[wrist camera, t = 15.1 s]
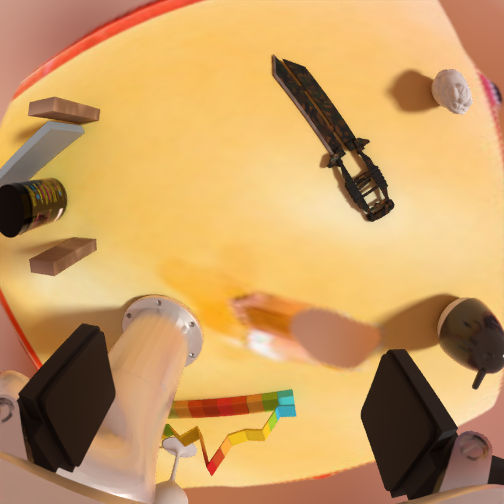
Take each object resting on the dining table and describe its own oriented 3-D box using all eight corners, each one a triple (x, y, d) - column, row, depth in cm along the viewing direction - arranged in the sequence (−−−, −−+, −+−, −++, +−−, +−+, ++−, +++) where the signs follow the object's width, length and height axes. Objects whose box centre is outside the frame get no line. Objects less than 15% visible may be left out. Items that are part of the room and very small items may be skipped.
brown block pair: (96, 249, 40) (54, 276, 29) (74, 247, 40) (31, 272, 29) (99, 109, 34) (54, 96, 24) (77, 112, 34) (29, 102, 24)
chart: (133, 412, 49) (108, 469, 35) (127, 400, 48) (99, 458, 34) (294, 401, 47) (303, 470, 33) (292, 388, 46) (301, 458, 32)
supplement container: (48, 168, 36) (2, 173, 26) (76, 193, 37) (31, 203, 27) (32, 205, 38) (-12, 217, 28) (58, 229, 39) (15, 248, 29)
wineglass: (181, 432, 50) (159, 521, 29) (205, 452, 51) (192, 537, 31) (154, 440, 51) (129, 522, 31) (179, 459, 53) (161, 538, 32)
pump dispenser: (417, 328, 43) (463, 383, 28) (456, 277, 40) (515, 319, 26) (446, 351, 44) (488, 402, 30) (481, 307, 42) (532, 348, 27)
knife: (263, 61, 33) (263, 57, 32) (305, 42, 32) (307, 38, 31) (357, 228, 39) (360, 230, 37) (396, 206, 38) (400, 207, 36)
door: (79, 120, 34) (46, 114, 26) (84, 132, 35) (51, 128, 27) (16, 175, 36) (-17, 181, 28) (21, 187, 37) (-13, 194, 29)
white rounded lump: (418, 107, 33) (445, 100, 27) (424, 67, 32) (450, 54, 25) (450, 125, 34) (479, 121, 27) (456, 85, 32) (483, 77, 25)
